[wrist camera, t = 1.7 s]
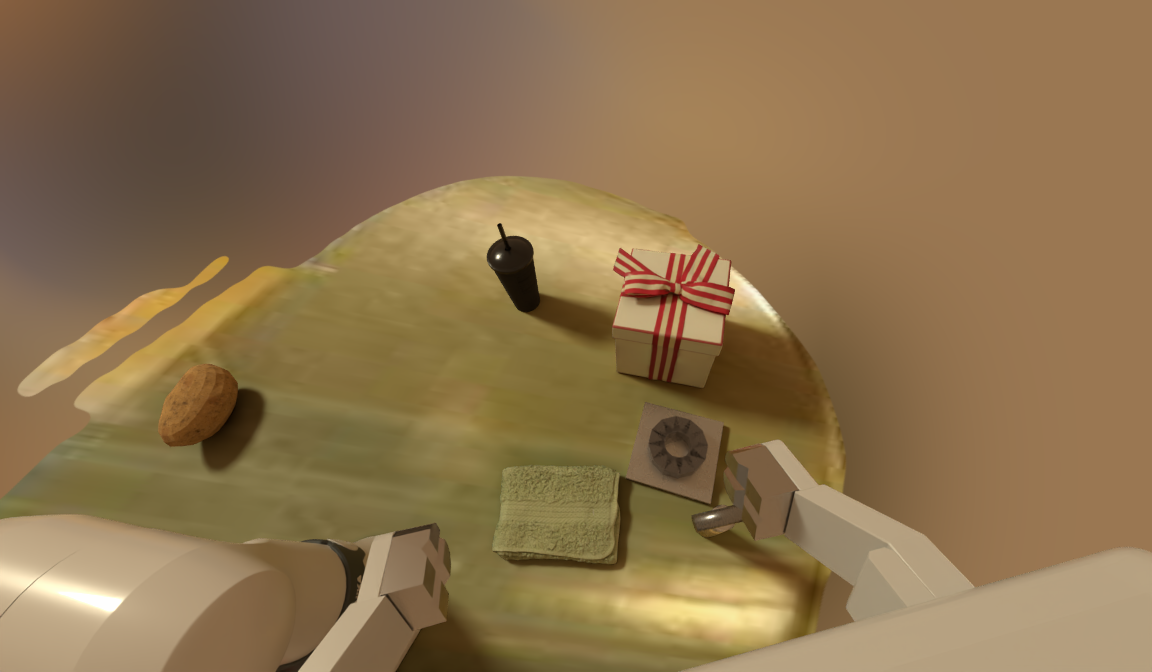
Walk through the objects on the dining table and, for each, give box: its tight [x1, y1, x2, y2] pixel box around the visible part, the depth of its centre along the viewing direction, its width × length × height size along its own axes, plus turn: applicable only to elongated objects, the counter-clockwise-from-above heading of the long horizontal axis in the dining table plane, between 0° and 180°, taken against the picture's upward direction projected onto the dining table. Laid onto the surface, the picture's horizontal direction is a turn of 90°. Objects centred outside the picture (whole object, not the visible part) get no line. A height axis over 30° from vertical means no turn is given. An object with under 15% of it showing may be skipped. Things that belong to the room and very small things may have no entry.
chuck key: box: [692, 505, 743, 538], centre depth 51 cm, size 7×3×14 cm, turn 102°
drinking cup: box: [487, 223, 540, 312], centre depth 70 cm, size 8×8×20 cm
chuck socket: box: [626, 402, 723, 505], centre depth 60 cm, size 12×12×4 cm
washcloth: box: [492, 465, 620, 564], centre depth 59 cm, size 13×18×3 cm
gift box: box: [612, 244, 735, 388], centre depth 65 cm, size 17×18×17 cm
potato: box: [158, 364, 238, 447], centre depth 70 cm, size 10×14×8 cm
